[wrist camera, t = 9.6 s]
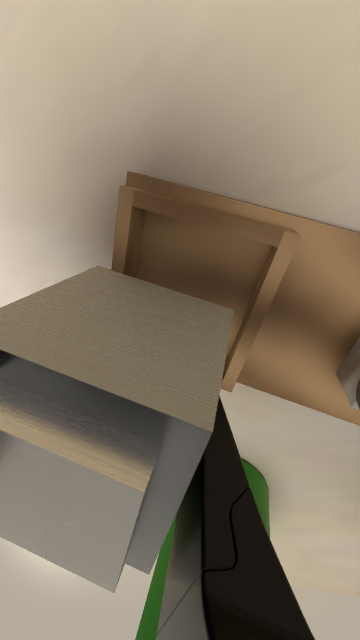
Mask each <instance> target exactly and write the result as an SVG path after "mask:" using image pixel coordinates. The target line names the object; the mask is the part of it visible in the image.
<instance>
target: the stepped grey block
mask: <svg viewBox="0 0 360 640" xmlns="http://www.w3.org/2000/svg"><path fill="white" fill-rule="evenodd" d="M233 315H234V310H233V309H230V308H227V307H223V306H220V305H217V304H214V303H211V302H208V301H205V300H202V299H199V298H196V297H192V296H189V295H186V294H183V293H180V292H177V291H174V290H171V289H168V288H165V287H162V286H158V285H155V284H152V283H149V282H146V281H143V280H140V279H137V278H134V277H131V276H128V275H124V274H121V273H118V272H115V271H112V270H109V269H106V268H103V267H100V266H96V267H94V268H91V269H89V270H87V271H84V272H82V273H80V274H78V275H75V276H73V277H71V278H68V279H66V280H64V281H61V282H59V283H57V284H54V285H52V286H50V287H47V288H45V289H43V290H41V291H38V292H36V293H34V294H31V295H29V296H27V297H24V298H22V299H20V300H17V301H15V302H13V303H11V304H8V305H6V306H4V307H1V308H0V537H2V538H4V539H6V540H8V541H10V542H12V543H14V544H16V545H18V546H20V547H22V548H24V549H26V550H28V551H30V552H32V553H34V554H36V555H38V556H40V557H42V558H44V559H46V560H48V561H50V562H52V563H54V564H56V565H58V566H60V567H62V568H64V569H66V570H68V571H71V572H72V573H75V574H77V575H79V576H81V577H83V578H85V579H87V580H89V581H91V582H93V583H95V584H97V585H99V586H101V587H103V588H105V589H107V590H109V591H111V592H113V593H114V592H115V589H116V587H117V584H118V581H119V578H120V575H121V572H122V570H123V567H124V564H125V563H126V564H128V565H130V566H132V567H134V568H136V569H138V570H140V571H143V572H145V573H147V574H149V573H150V571H151V569H152V567H153V565H154V562H155V560H156V558H157V556H158V553H159V551H160V549H161V547H162V544H163V542H164V540H165V538H166V535H167V533H168V531H169V529H170V526H171V524H172V522H173V520H174V518H175V515H176V513H177V511H178V509H179V506H180V504H181V502H182V500H183V497H184V495H185V493H186V491H187V488H188V486H189V484H190V482H191V480H192V477H193V475H194V473H195V471H196V468H197V466H198V464H199V462H200V459H201V457H202V455H203V453H204V450H205V448H206V446H207V444H208V441H209V439H210V437H211V435H212V433H213V428H214V422H215V416H216V411H217V405H218V399H219V394H220V388H221V382H222V377H223V371H224V365H225V360H226V354H227V348H228V343H229V337H230V332H231V326H232V320H233Z"/></svg>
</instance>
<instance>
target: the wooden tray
mask: <svg viewBox="0 0 360 640" xmlns="http://www.w3.org/2000/svg"><path fill="white" fill-rule="evenodd" d="M112 271H115V272H118V273H121V274H124V275H128V276H131V277H134V278H137V279H140V280H143V281H146V282H149V283H152V284H155V285H158V286H162V287H165V288H168V289H171V290H174V291H177V292H180V293H183V294H186V295H189V296H192V297H196V298H199V299H202V300H205V301H208V302H211V303H214V304H217V305H220V306H223V307H227V308H230V309H233V310H234V315H233V320H232V326H231V332H230V337H229V343H228V348H227V354H226V360H225V365H224V371H223V377H222V382H221V389H223V390H226V391H229V392H232V389H233V387H234V385H235V383H236V382H238V383H241V384H244V385H247V386H250V387H252V388H255V389H258V390H261V391H264V392H267V393H269V394H272V395H275V396H278V397H281V398H283V399H286V400H289V401H292V402H295V403H298V404H300V405H303V406H306V407H309V408H312V409H314V410H317V411H320V412H323V413H326V414H329V415H331V416H334V417H337V418H340V419H343V420H345V421H348V422H351V423H354V424H357V425H360V409H359V407H358V404H357V400H356V388H357V384H358V381H359V379H360V233H358V232H355V231H351V230H347V229H343V228H340V227H336V226H332V225H328V224H325V223H321V222H317V221H313V220H310V219H306V218H302V217H298V216H295V215H291V214H287V213H283V212H280V211H276V210H272V209H268V208H265V207H261V206H257V205H253V204H250V203H246V202H242V201H238V200H235V199H231V198H227V197H223V196H220V195H216V194H212V193H208V192H205V191H201V190H197V189H193V188H190V187H186V186H182V185H178V184H175V183H171V182H167V181H163V180H160V179H156V178H152V177H148V176H145V175H141V174H137V173H133V172H127V181H126V186H120V192H119V202H118V212H117V221H116V231H115V241H114V251H113V261H112Z"/></svg>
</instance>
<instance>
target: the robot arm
mask: <svg viewBox="0 0 360 640" xmlns="http://www.w3.org/2000/svg"><path fill="white" fill-rule="evenodd" d="M249 487H250V484H249V481H248V478H247V476H246V473H245V470H244V467H243V464H242V461H241V458H240V455H239V452H238V449H237V446H236V443H235V440H234V437H233V434H232V431H231V428H230V425H229V422H228V419H227V417H226V414H225V411H224V408H223V405H222V402H221V399H220V396H219V399H218V405H217V411H216V416H215V422H214V428H213V433H212V435H211V437H210V439H209V441H208V444H207V446H206V448H205V450H204V453H203V455H202V457H201V459H200V462H199V464H198V466H197V468H196V471H195V473H194V475H193V477H192V480H191V482H190V484H189V486H188V488H187V491H186V493H185V495H184V497H183V500H182V502H181V504H180V506H179V509H178V511H177V514H176V520H175V526H174V532H173V538H172V544H171V550H170V557H169V563H168V569H167V575H166V581H165V587H164V593H163V599H162V605H161V611H160V617H159V623H158V629H157V637H156V640H315V639H314V637H313V635H312V633H311V631H310V629H309V627H308V624H307V623H306V620H305V618H304V616H303V614H302V611H301V609H300V607H299V605H298V602H297V600H296V598H295V595H294V593H293V591H292V588H291V586H290V584H289V582H288V579H287V577H286V575H285V573H284V570H283V568H282V566H281V564H280V561H279V559H278V557H277V555H276V552H275V550H274V548H273V545H272V543H271V541H270V538H269V536H268V533H267V531H266V529H265V526H264V524H263V521H262V518H261V516H260V513H259V510H258V507H257V505H256V502H255V499H254V496H253V493H252V490H251V488H249Z"/></svg>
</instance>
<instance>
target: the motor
mask: <svg viewBox="0 0 360 640" xmlns="http://www.w3.org/2000/svg"><path fill="white" fill-rule="evenodd" d="M241 461H242V464H243V467H244V470H245V473H246V476H247V478H248V481H249V484H250V487H249V488H251V490H252V493H253V496H254V499H255V502H256V505H257V507H258V510H259V513H260V516H261V518H262V521H263V524H264V526H265V529H266V531H267V533H268V536H269V538H270V525H269V497H268V487H267V484H266V482H265V480H264V478H263V477H262V475H261V474H260V473H259V472H258V471H257V470H256V469H255V468H254V467H253V466H251V465H250V464H249V463H247V462H245V461H244V460H242V459H241ZM176 514H177V513H176ZM175 520H176V515H175V518H174V520H173V522H172V524H171V526H170V529H169V531H168V533H167V535H166V538H165V540H164V542H163V544H162V547H161V549H160V552H159V556H158V559H157V563H156V567H155V570H154V574H153V578H152V581H151V585H150V588H149V592H148V596H147V599H146V603H145V607H144V611H143V614H142V618H141V621H140V625H139V629H138V632H137V636H136V639H135V640H156V637H157V629H158V623H159V617H160V611H161V605H162V599H163V593H164V587H165V581H166V575H167V569H168V563H169V557H170V550H171V544H172V538H173V532H174V526H175Z"/></svg>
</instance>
